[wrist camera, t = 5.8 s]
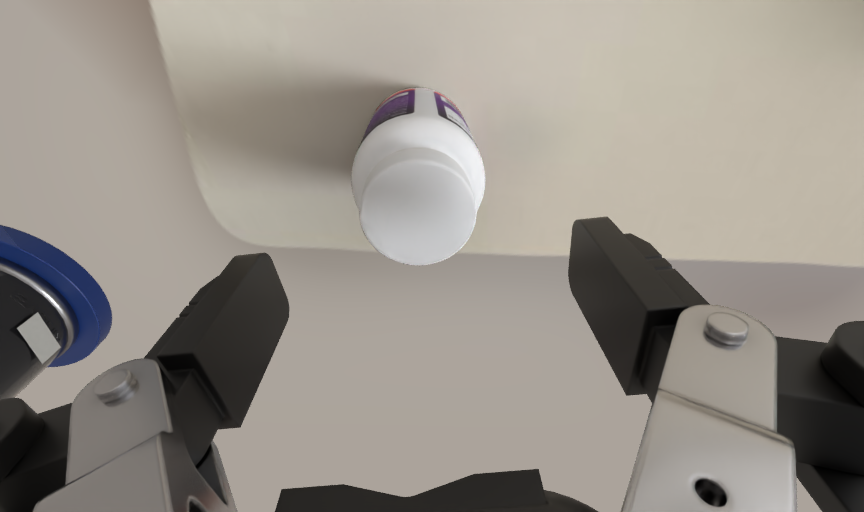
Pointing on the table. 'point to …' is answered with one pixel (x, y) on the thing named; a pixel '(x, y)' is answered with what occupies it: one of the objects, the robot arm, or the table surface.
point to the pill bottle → (418, 178)
